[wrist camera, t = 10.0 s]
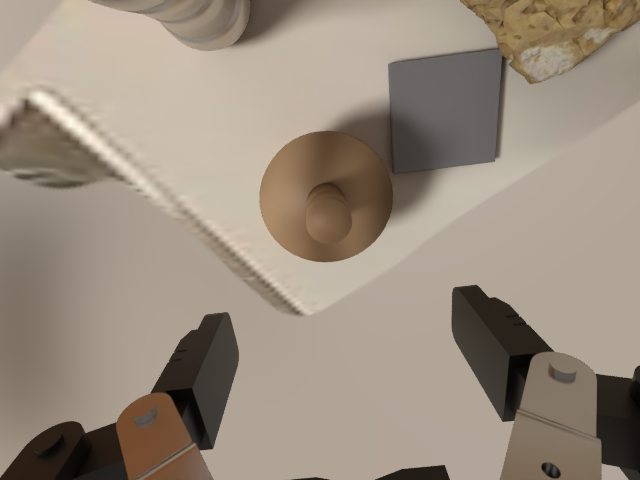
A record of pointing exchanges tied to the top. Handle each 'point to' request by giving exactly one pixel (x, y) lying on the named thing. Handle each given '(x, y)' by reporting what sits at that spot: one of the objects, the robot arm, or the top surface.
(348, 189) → the lid
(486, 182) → the top surface
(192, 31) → the plastic bottle
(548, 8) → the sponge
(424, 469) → the robot arm
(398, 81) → the mat
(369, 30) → the top surface
